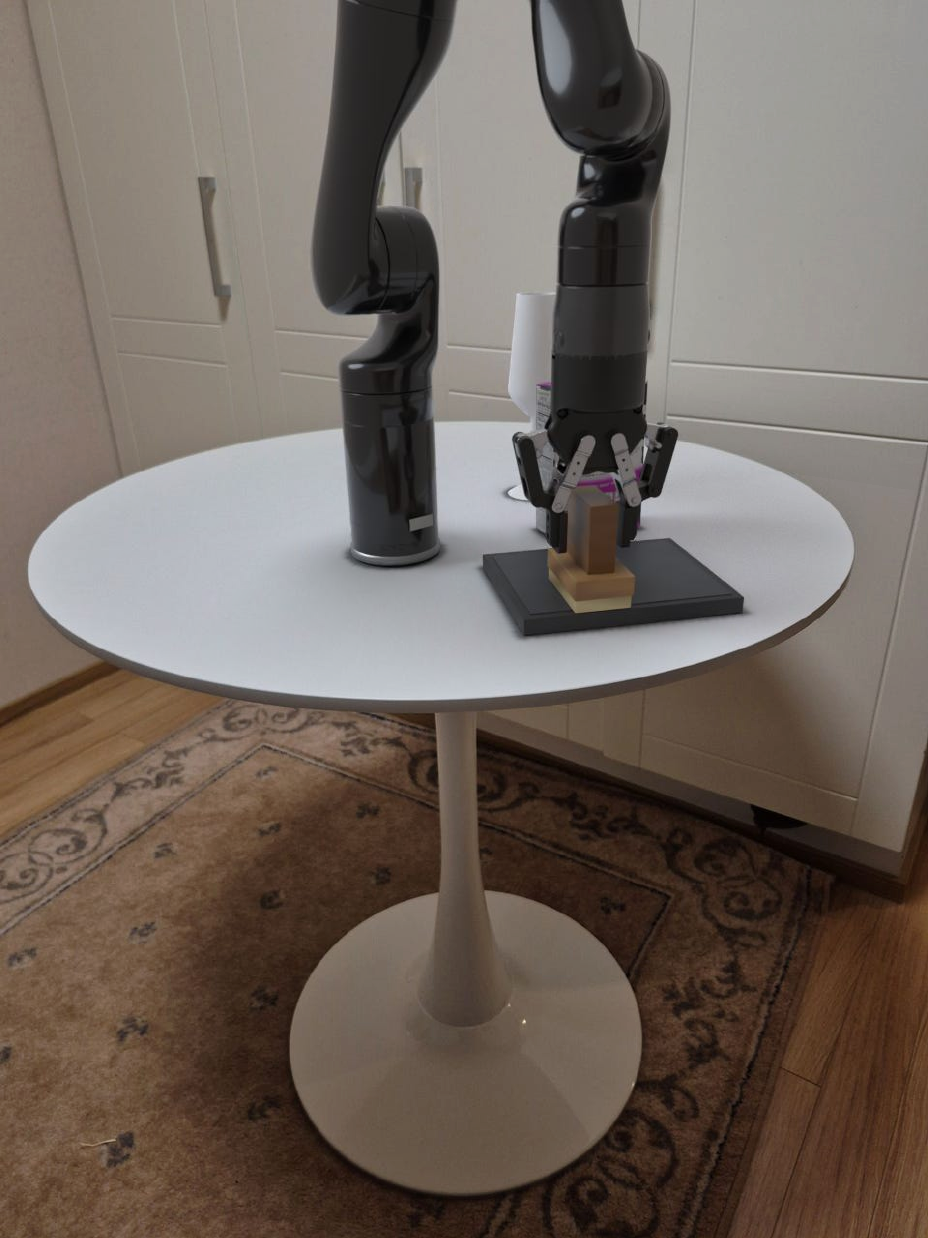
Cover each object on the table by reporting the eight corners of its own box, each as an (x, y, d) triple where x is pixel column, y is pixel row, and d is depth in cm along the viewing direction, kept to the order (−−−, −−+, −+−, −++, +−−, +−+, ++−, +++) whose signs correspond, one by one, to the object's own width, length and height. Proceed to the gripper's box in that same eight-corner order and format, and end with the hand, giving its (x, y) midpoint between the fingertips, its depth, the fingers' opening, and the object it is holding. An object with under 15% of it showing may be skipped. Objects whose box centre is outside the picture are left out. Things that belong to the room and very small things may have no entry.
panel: (482, 568, 87) (482, 553, 86) (668, 551, 90) (670, 536, 89) (523, 635, 72) (523, 619, 72) (742, 612, 76) (744, 596, 75)
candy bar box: (617, 515, 101) (626, 372, 94) (641, 528, 97) (651, 379, 90) (532, 529, 97) (534, 380, 90) (552, 542, 93) (556, 388, 86)
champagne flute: (504, 486, 113) (504, 292, 103) (554, 484, 113) (559, 290, 103) (512, 501, 107) (512, 296, 97) (565, 499, 107) (571, 294, 97)
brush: (546, 578, 80) (548, 484, 76) (600, 573, 81) (604, 479, 77) (574, 614, 72) (578, 512, 69) (633, 608, 73) (640, 507, 69)
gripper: (665, 335, 72) (651, 527, 79) (499, 343, 70) (500, 540, 77) (705, 346, 65) (685, 555, 73) (523, 355, 63) (521, 570, 70)
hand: (590, 546), depth 75 cm, fingers open, 5 cm apart
